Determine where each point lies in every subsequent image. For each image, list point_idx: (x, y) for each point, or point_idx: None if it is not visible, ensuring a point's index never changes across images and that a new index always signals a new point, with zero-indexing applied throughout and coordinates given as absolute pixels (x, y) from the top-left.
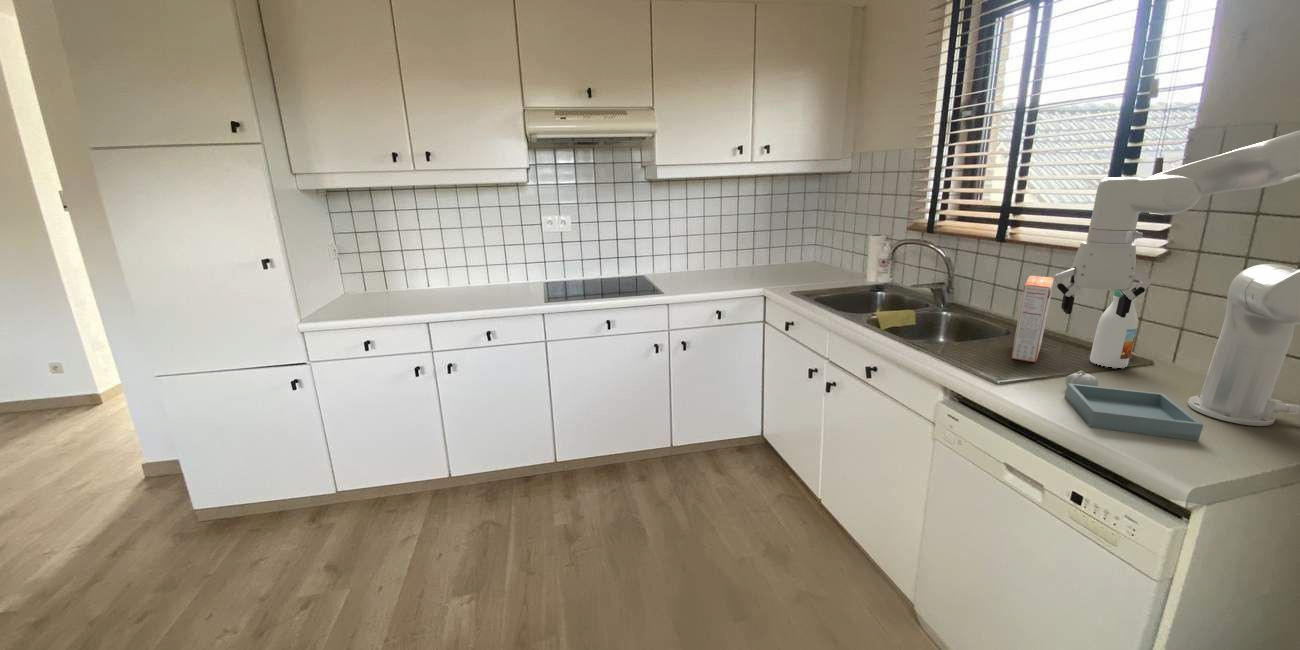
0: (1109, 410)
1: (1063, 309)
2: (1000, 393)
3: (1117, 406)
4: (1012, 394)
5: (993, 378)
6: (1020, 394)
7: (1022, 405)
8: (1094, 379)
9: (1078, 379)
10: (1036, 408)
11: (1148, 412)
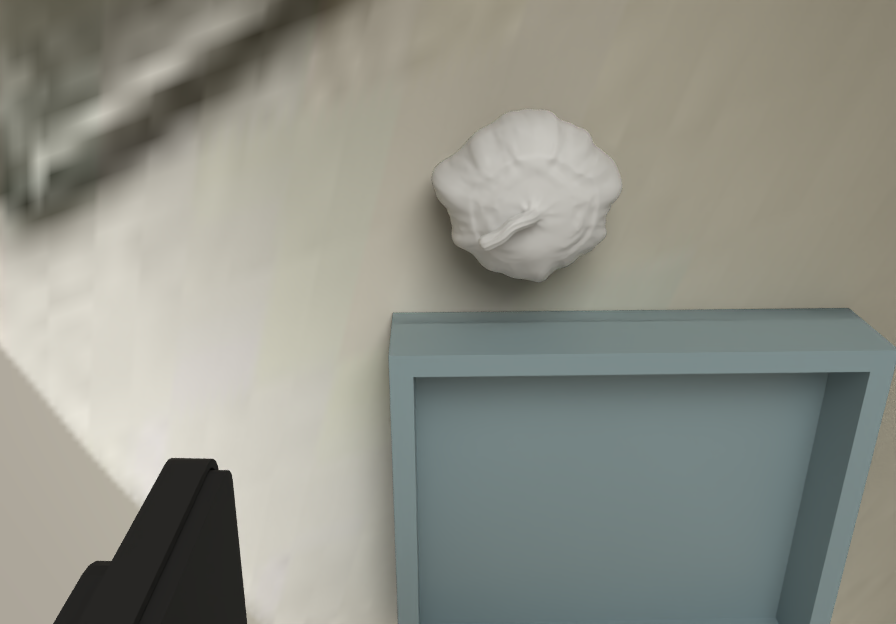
0: (542, 486)
1: (167, 474)
2: (52, 366)
3: (607, 424)
4: (116, 359)
5: (7, 108)
6: (159, 345)
7: None
8: (583, 248)
9: (483, 257)
10: None
11: (725, 454)
